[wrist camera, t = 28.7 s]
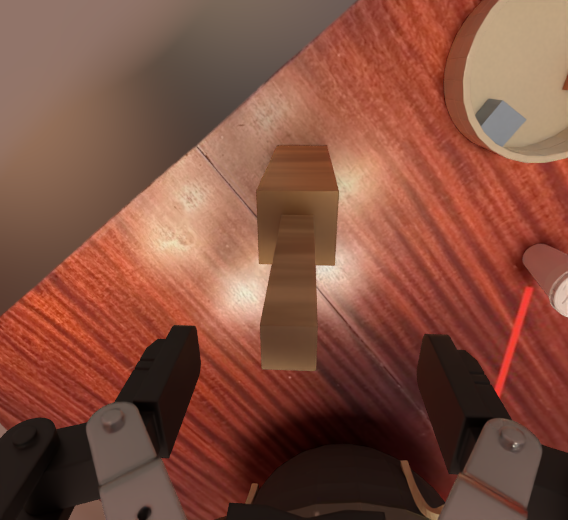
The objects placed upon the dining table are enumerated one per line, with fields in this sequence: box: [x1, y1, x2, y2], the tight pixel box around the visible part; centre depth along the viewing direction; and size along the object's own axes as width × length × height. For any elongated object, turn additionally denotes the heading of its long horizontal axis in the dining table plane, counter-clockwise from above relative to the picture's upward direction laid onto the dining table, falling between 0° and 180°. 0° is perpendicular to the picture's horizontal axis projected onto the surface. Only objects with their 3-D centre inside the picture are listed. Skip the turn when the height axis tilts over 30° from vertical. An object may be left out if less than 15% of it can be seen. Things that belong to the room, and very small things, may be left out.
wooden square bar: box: [260, 215, 318, 371], centre depth 23 cm, size 2×2×14 cm
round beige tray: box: [444, 0, 568, 163], centre depth 38 cm, size 17×17×6 cm
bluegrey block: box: [475, 99, 527, 147], centre depth 41 cm, size 3×3×3 cm
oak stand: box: [256, 145, 339, 266], centre depth 38 cm, size 6×6×20 cm
